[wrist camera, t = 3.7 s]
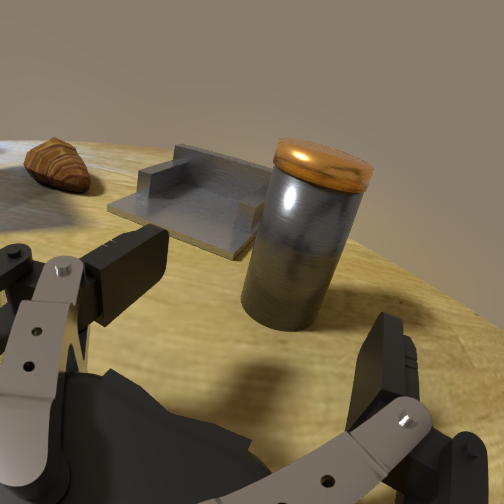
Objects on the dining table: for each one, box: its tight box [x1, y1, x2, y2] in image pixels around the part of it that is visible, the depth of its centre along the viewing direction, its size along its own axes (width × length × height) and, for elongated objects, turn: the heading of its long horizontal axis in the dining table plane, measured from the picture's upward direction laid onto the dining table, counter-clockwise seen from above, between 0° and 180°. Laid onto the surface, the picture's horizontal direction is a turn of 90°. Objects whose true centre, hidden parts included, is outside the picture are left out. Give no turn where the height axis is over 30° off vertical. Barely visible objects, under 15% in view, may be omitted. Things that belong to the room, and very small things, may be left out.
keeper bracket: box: [107, 144, 273, 260], centre depth 30 cm, size 12×12×5 cm
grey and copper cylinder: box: [241, 138, 374, 331], centre depth 18 cm, size 5×5×10 cm
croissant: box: [23, 138, 90, 192], centre depth 30 cm, size 14×7×5 cm, turn 63°
